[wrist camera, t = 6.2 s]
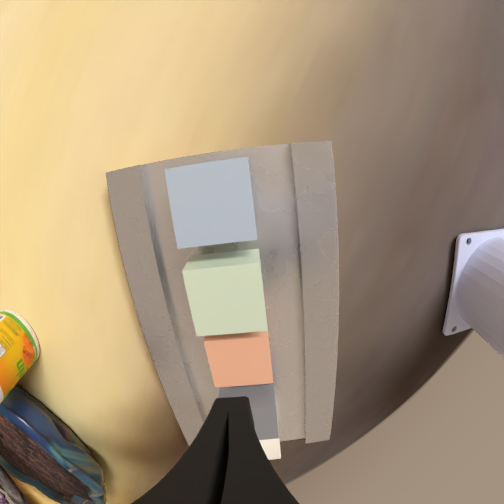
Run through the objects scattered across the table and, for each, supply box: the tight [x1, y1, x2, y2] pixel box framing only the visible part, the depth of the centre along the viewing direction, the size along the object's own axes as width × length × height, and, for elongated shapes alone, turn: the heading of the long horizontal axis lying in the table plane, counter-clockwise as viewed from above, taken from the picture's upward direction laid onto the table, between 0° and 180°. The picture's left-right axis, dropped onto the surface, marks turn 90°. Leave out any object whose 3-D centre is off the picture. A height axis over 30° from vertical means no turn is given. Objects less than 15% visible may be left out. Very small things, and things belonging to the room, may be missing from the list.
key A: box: [259, 420, 281, 460], centre depth 19 cm, size 3×3×2 cm
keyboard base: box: [106, 141, 339, 446], centre depth 18 cm, size 12×22×2 cm, turn 7°
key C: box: [204, 317, 273, 387], centre depth 16 cm, size 3×3×2 cm
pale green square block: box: [182, 249, 268, 336], centre depth 14 cm, size 3×3×2 cm
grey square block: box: [165, 157, 258, 249], centre depth 13 cm, size 3×3×2 cm
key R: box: [218, 384, 279, 440], centre depth 17 cm, size 3×3×2 cm
